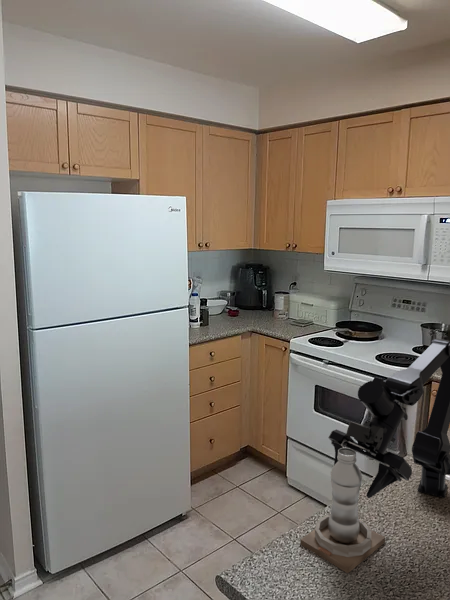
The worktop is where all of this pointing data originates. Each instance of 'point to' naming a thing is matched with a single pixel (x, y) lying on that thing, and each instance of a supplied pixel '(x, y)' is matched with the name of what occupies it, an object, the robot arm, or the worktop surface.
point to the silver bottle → (345, 497)
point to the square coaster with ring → (342, 545)
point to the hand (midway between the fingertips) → (350, 487)
